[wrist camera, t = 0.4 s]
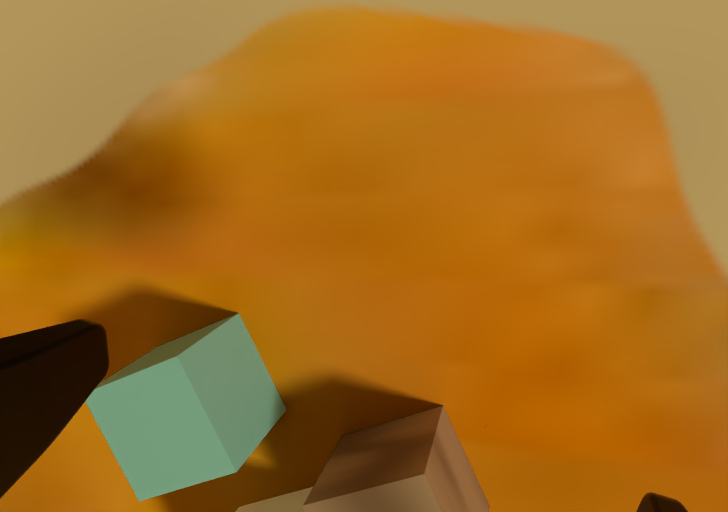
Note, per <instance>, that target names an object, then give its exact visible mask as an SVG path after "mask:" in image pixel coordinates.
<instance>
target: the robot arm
mask: <svg viewBox="0 0 728 512" xmlns="http://www.w3.org/2000/svg"><path fill="white" fill-rule="evenodd" d="M108 367H109V355H108V345H107V335H106V330H105V328H104V327H103V326H102V325H101V324H98V323H95V322H92V321H88V320H84V319H79V320H74V321H70V322H66V323H62V324H58V325H54V326H50V327H46V328H41V329H37V330H33V331H29V332H25V333H21V334H17V335H13V336H8V337H4V338H0V498H1V497H2V496H3V495H4V494H5V493H6V492H7V491H8V490H9V489H10V488H11V487H12V486H13V485H14V484H15V483H16V482H17V480H18V479H19V478H20V477H21V476H22V475H23V474H24V473H25V472H26V471H27V470H28V469H29V468H30V467H31V466H32V465H33V464H34V462H35V461H36V460H37V459H38V458H39V457H40V456H41V455H42V454H43V453H44V452H45V451H46V449H47V448H48V447H49V446H50V445H51V444H52V442H53V441H54V440H55V439H56V438H57V436H58V435H59V434H60V433H61V431H62V430H63V429H64V428H65V426H66V425H67V424H68V423H69V421H70V420H71V419H72V417H73V416H74V415H75V414H76V412H77V411H78V410H79V409H80V407H81V406H82V405H83V403H84V402H85V401H86V400H87V398H88V397H89V396H90V395H91V393H92V392H93V391H94V389H95V388H96V387H97V386H98V384H99V383H100V382H101V381H102V379H103V378H104V376H105V375H106V373H107V370H108ZM637 512H688V511H687V510H686V508H685V507H684V506H683V505H682V504H681V503H680V502H679V501H677V500H675V499H672V498H669V497H666V496H662V495H659V494H656V493H652V492H651V493H647V494H646V495H645V496H644V497H643V499H642V501H641V503H640V505H639V507H638V509H637Z"/></svg>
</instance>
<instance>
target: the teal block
mask: <svg viewBox="0 0 728 512" xmlns="http://www.w3.org/2000/svg"><path fill="white" fill-rule="evenodd" d="M85 402H86V403H87V405H88V407H89V409H90V411H91V413H92V415H93V416H94V418H95V420H96V422H97V424H98V426H99V428H100V429H101V431H102V433H103V435H104V437H105V439H106V441H107V442H108V444H109V446H110V448H111V450H112V452H113V454H114V455H115V457H116V459H117V461H118V463H119V465H120V467H121V468H122V470H123V472H124V474H125V476H126V478H127V480H128V481H129V483H130V485H131V487H132V489H133V491H134V493H135V494H136V496H137V498H138V500H139V501H142V500H146V499H149V498H152V497H156V496H159V495H162V494H166V493H169V492H172V491H176V490H179V489H182V488H186V487H189V486H192V485H196V484H199V483H202V482H206V481H209V480H213V479H216V478H219V477H223V476H226V475H229V474H233V473H236V472H237V471H238V470H239V468H240V467H241V466H242V465H243V463H244V462H245V461H246V460H247V458H248V457H249V456H250V455H251V453H252V452H253V451H254V450H255V448H256V447H257V446H258V445H259V443H260V442H261V441H262V440H263V438H264V437H265V436H266V435H267V433H268V432H269V431H270V430H271V428H272V427H273V426H274V425H275V423H276V422H277V421H278V420H279V418H280V417H281V416H282V415H283V413H284V412H285V411H286V410H287V409H286V407H285V405H284V403H283V401H282V399H281V397H280V395H279V393H278V391H277V389H276V387H275V385H274V383H273V381H272V379H271V377H270V375H269V373H268V371H267V369H266V367H265V365H264V363H263V361H262V359H261V357H260V355H259V353H258V351H257V349H256V347H255V345H254V343H253V341H252V339H251V337H250V335H249V333H248V331H247V329H246V327H245V325H244V323H243V320H242V318H241V316H240V314H239V313H238V314H235V315H233V316H230V317H228V318H226V319H223V320H221V321H218V322H216V323H214V324H211V325H209V326H206V327H204V328H201V329H199V330H197V331H194V332H192V333H189V334H187V335H185V336H182V337H180V338H177V339H175V340H173V341H170V342H168V343H165V344H163V345H161V346H158V347H156V348H154V349H153V350H151V351H150V352H148V353H146V354H145V355H143V356H142V357H140V358H138V359H137V360H135V361H134V362H132V363H131V364H129V365H127V366H126V367H124V368H123V369H121V370H119V371H118V372H116V373H115V374H113V375H112V376H110V377H108V378H107V379H105V380H104V381H102V382H100V383H99V384H98V386H97V387H96V388H95V389H94V391H93V392H92V393H91V395H90V396H89V397H88V398H87V400H86V401H85Z"/></svg>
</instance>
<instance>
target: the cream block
mask: <svg viewBox="0 0 728 512" xmlns="http://www.w3.org/2000/svg"><path fill="white" fill-rule="evenodd" d="M312 488H313V487H310V488H306V489H303V490H299V491H295V492H292V493H288V494H284V495H281V496H277V497H273V498H270V499H266V500H262V501H259V502H255V503H251V504H248V505H244V506H240V507H238V509H237V510H236V512H306V511H305V509H304V507H303V504H304V502H305V501H306V499H307V497H308V495H309V494H310V492H311V490H312Z"/></svg>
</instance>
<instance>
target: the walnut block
mask: <svg viewBox="0 0 728 512" xmlns="http://www.w3.org/2000/svg"><path fill="white" fill-rule="evenodd" d="M303 507H304V509H305V511H306V512H489V507H490V506H489V504H488V501H487V499H486V497H485V495H484V493H483V491H482V488H481V486H480V484H479V482H478V480H477V478H476V475H475V473H474V471H473V469H472V467H471V465H470V463H469V460H468V458H467V456H466V454H465V452H464V450H463V447H462V445H461V443H460V441H459V439H458V437H457V434H456V432H455V430H454V428H453V426H452V424H451V421H450V419H449V417H448V415H447V413H446V411H445V408H444V406H439V407H436V408H433V409H429V410H426V411H423V412H419V413H416V414H413V415H409V416H406V417H403V418H400V419H396V420H393V421H390V422H386V423H383V424H380V425H376V426H373V427H370V428H366V429H363V430H360V431H356V432H353V433H350V434H346V435H343V436H342V437H341V439H340V440H339V442H338V444H337V446H336V448H335V449H334V451H333V453H332V455H331V456H330V458H329V460H328V462H327V463H326V465H325V467H324V469H323V471H322V472H321V474H320V476H319V478H318V479H317V481H316V483H315V485H314V486H313V488H312V490H311V492H310V494H309V495H308V497H307V499H306V501H305V502H304V504H303Z"/></svg>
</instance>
